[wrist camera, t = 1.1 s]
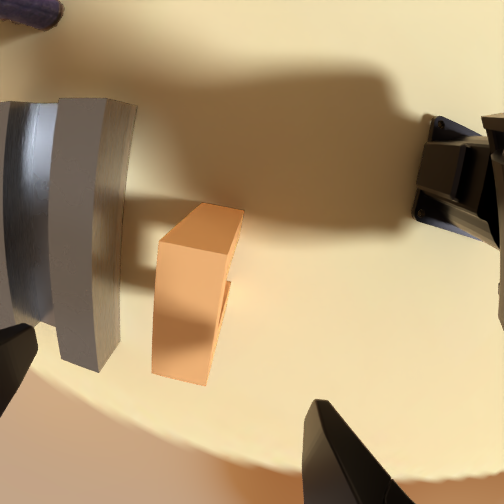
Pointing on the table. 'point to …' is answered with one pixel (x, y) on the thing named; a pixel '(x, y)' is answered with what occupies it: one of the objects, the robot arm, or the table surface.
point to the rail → (64, 220)
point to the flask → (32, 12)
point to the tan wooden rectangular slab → (193, 291)
